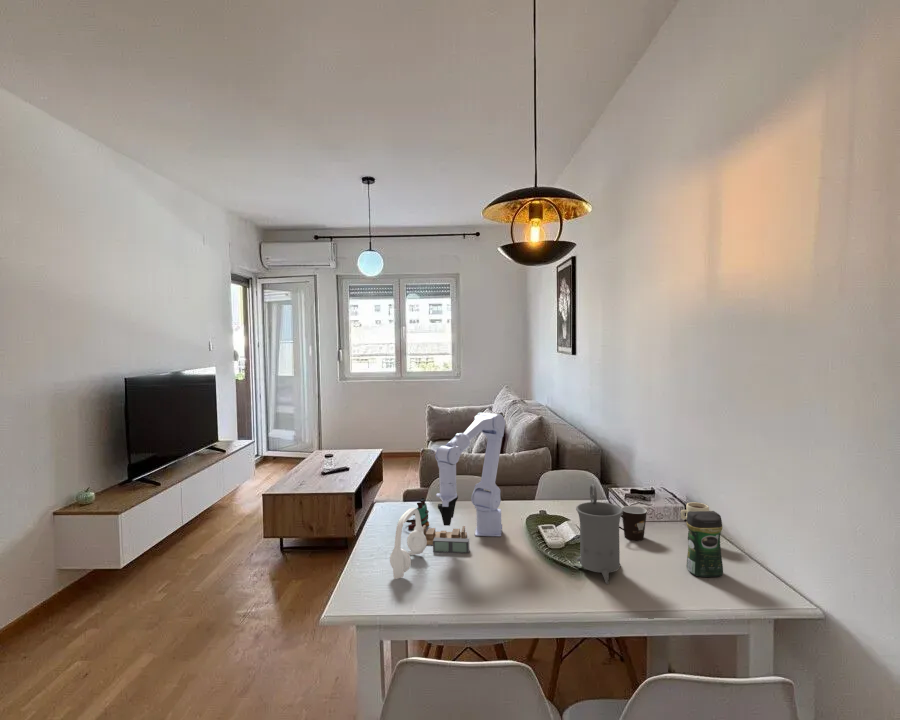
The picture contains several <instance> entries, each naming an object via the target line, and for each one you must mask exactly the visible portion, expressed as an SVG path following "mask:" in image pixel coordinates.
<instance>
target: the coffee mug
mask: <svg viewBox="0 0 900 720" xmlns="http://www.w3.org/2000/svg"><path fill="white" fill-rule="evenodd" d="M620 508H621V509H622V510H623V513H622V515H621V517H620V518H622V526H623V527H622V526H620V525H619V530H620V529H621V530H622V531H623V535H624V538H625V539H626V540H629V541H633V542H639V541H640V542H641V541H643V540H644V538H645V531H646V524H647V523H646V522H647V514H648V510H647V509H646V508H644V507H641V506H637V505H627V506H622V507H620Z"/></svg>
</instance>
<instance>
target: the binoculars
mask: <svg viewBox="0 0 900 720" xmlns="http://www.w3.org/2000/svg"><path fill="white" fill-rule="evenodd" d="M416 505H417V507H415V508H416V509H418V511H419V514H420V519H421V525H422V527H423V525H426V527H428V526H430V522H429V521H428V520H429V510H428V506H427V503H426V498H425V497H420V498H419V502H416ZM412 516H415V514H413V515H412ZM405 523H411V524H408V525H407V526H408V527H407V528H408V530H412V529H413V530H414V527H415V526H416V520H415V517H413V519H408V520H407V521H406V522H405Z"/></svg>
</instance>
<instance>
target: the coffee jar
mask: <svg viewBox="0 0 900 720" xmlns="http://www.w3.org/2000/svg"><path fill="white" fill-rule="evenodd" d="M686 527H687V529H688V531H689V540H688V548H687V555H686V569H687V571H688V572H690V574H691V575H694V576H695V577H696V576H697V577H701V578H703V577H704V578H713V577H714V578H715V577H721V576H722V575H724V564H723V558H722V557H723V556H722V548H721V533H722V531H723V522H722V516H721V515H720V514H719V513H718V512H717V511H715V510H709V511H689V512H688V513H687V520H686Z"/></svg>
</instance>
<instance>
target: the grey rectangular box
mask: <svg viewBox="0 0 900 720" xmlns="http://www.w3.org/2000/svg"><path fill="white" fill-rule="evenodd" d="M432 552H433V553H451V554H452V553H453V554H458V553H459V554H469V553H470V538H466V539H462V538H434V540H433V545H432Z"/></svg>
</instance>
